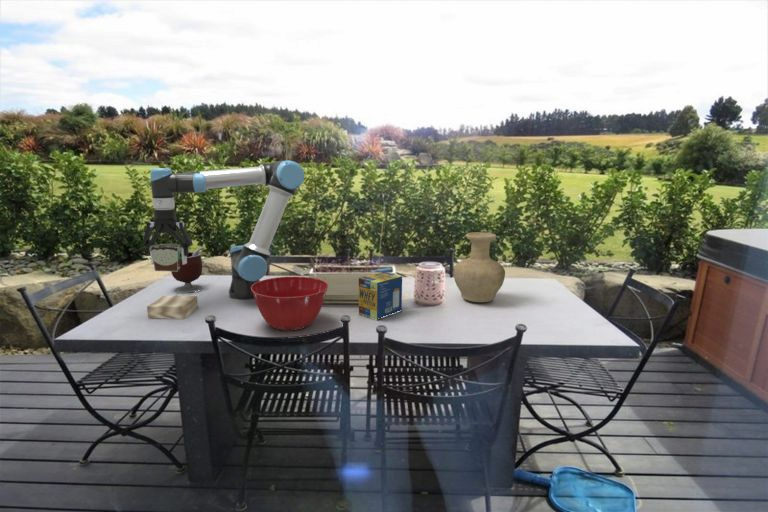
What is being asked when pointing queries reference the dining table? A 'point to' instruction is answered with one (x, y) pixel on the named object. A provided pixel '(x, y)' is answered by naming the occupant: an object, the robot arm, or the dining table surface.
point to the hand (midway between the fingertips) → (169, 263)
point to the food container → (166, 257)
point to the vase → (479, 270)
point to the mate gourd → (189, 272)
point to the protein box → (380, 294)
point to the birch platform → (172, 307)
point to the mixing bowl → (289, 300)
